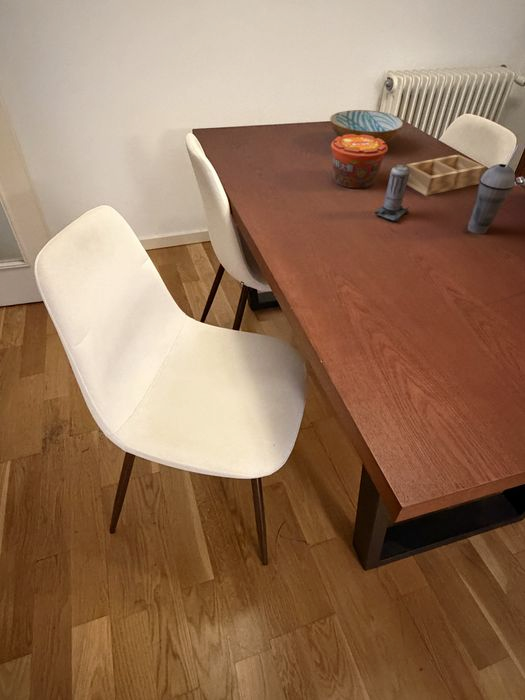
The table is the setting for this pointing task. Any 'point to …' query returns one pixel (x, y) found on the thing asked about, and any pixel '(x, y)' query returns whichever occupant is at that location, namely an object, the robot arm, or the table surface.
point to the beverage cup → (491, 195)
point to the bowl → (366, 124)
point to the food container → (357, 160)
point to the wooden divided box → (443, 174)
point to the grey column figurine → (395, 194)
